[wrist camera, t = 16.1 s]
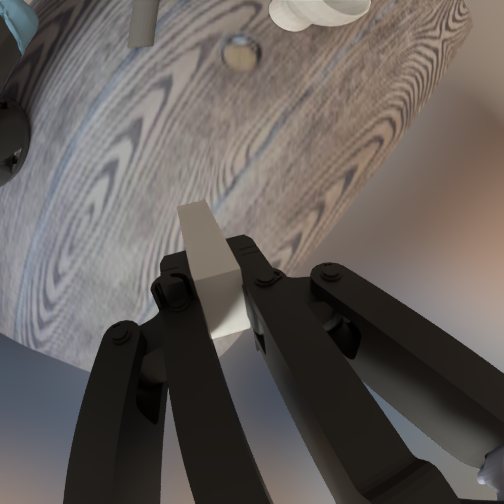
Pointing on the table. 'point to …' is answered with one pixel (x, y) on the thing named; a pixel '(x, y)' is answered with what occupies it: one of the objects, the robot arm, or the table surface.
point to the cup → (316, 12)
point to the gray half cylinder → (143, 23)
